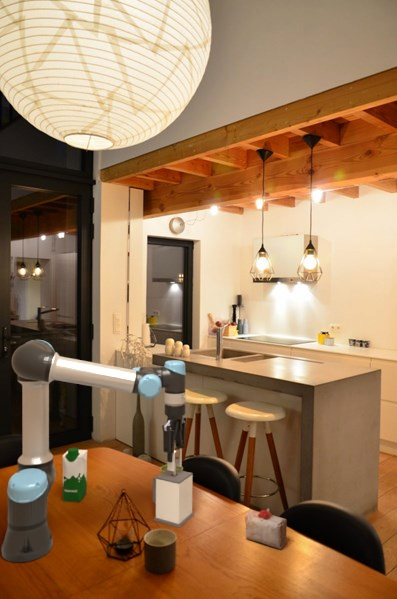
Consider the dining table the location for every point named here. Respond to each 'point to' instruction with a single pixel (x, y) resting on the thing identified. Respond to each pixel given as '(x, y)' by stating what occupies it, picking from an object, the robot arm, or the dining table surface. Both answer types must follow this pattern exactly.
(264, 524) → the food item
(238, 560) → the dining table surface
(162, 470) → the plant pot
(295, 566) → the dining table surface
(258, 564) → the dining table surface
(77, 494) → the milk carton
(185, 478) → the tall white box
